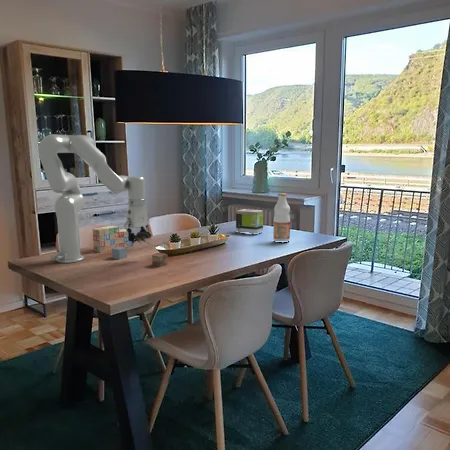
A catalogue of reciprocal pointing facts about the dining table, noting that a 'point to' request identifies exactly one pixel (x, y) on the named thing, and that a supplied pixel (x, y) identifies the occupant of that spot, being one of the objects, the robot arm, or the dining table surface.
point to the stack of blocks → (110, 238)
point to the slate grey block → (119, 252)
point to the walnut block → (159, 259)
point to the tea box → (249, 221)
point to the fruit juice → (281, 219)
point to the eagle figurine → (142, 237)
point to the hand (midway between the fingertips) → (137, 239)
